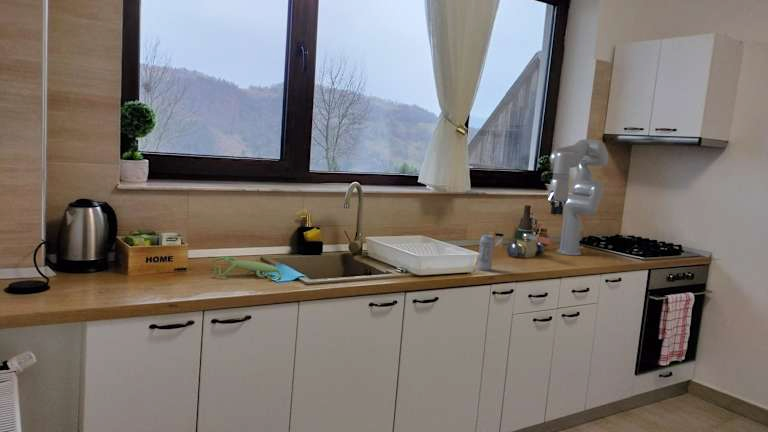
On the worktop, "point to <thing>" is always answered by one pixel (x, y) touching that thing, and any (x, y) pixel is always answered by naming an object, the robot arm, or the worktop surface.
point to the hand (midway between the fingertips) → (556, 214)
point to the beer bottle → (525, 223)
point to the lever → (538, 238)
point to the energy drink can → (485, 252)
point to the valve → (525, 248)
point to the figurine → (247, 267)
